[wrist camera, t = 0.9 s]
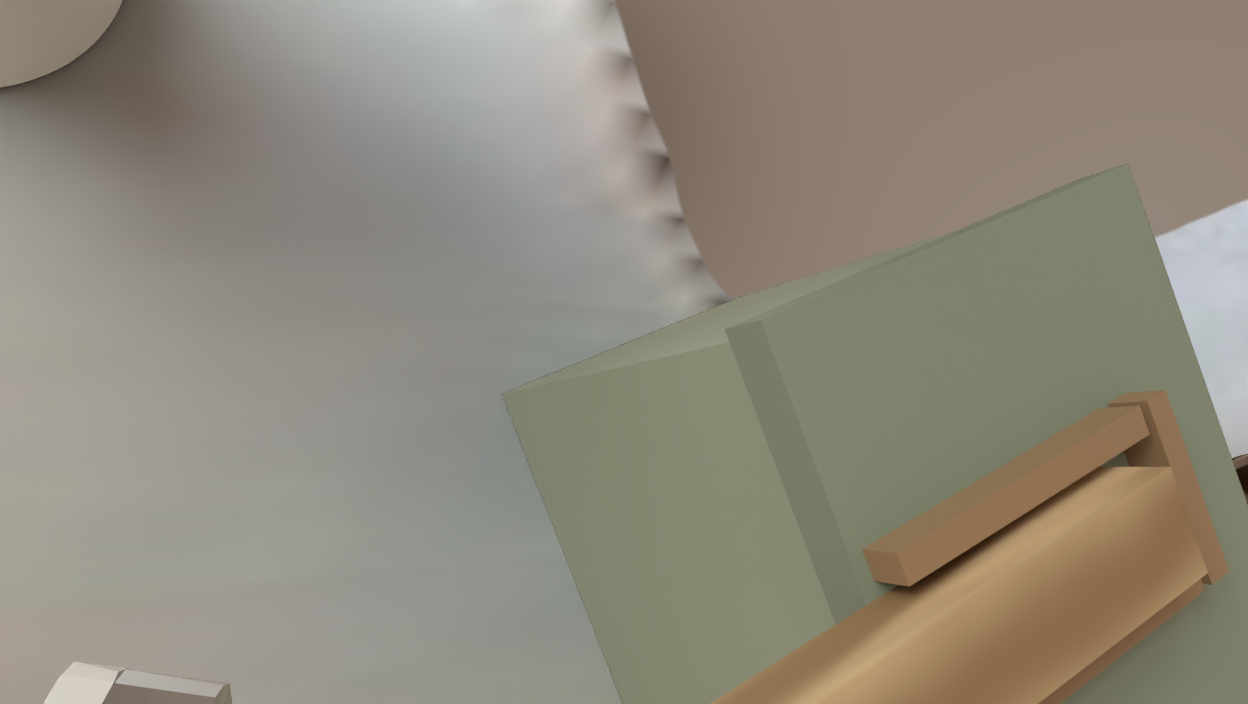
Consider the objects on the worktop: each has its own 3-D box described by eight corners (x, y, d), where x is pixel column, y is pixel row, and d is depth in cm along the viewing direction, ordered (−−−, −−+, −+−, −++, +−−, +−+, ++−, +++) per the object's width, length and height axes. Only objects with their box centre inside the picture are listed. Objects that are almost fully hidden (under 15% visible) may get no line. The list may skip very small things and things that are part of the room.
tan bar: (636, 750, 24) (694, 785, 22) (1086, 466, 32) (1170, 466, 29) (685, 875, 24) (748, 926, 22) (1121, 564, 32) (1208, 572, 30)
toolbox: (489, 388, 51) (791, 312, 26) (743, 286, 58) (1167, 150, 33) (632, 753, 52) (1052, 1013, 27) (863, 607, 59) (1360, 708, 34)
